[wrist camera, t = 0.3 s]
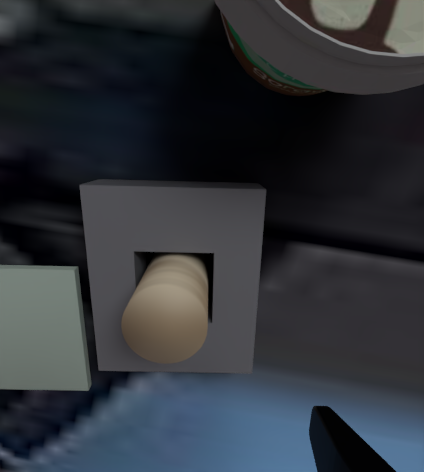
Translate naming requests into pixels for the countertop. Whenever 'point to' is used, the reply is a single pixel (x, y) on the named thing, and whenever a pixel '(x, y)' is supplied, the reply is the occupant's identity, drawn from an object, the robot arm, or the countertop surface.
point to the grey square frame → (175, 240)
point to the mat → (42, 329)
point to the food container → (328, 44)
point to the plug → (169, 308)
